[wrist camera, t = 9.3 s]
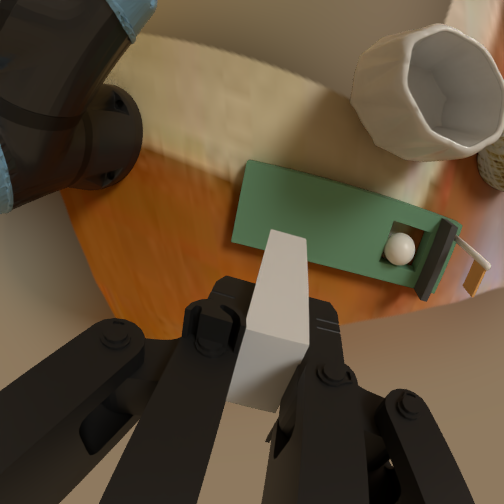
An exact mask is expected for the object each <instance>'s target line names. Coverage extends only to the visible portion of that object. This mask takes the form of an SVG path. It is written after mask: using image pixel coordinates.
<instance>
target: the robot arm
mask: <svg viewBox="0 0 504 504" xmlns="http://www.w3.org/2000/svg"><path fill="white" fill-rule="evenodd" d="M156 7H157V0H0V214H2V213H9V212H10V211H11V210H13V209H15V208H17V207H20V206H22V205H24V204H26V203H29V202H31V201H34V200H36V199H38V198H41V197H43V196H46V195H48V194H50V193H53V192H56V191H59V190H61V189H64V188H67V187H69V188H77V189H84V190H99V189H103V188H106V187H108V186H111V185H114V184H116V183H117V182H119V181H120V180H122V179H123V178H124V177H125V176H126V175H127V174H128V173H129V172H130V170H131V169H132V168H133V166H134V164H135V162H136V160H137V158H138V156H139V153H140V149H141V145H142V138H143V126H142V119H141V115H140V112H139V109H138V107H137V105H136V103H135V101H134V100H133V98H132V97H131V96H130V95H129V94H128V93H127V92H126V91H125V90H123V89H121V88H120V87H117V86H114V85H109V84H103V82H104V81H105V79H106V77H107V76H108V74H109V73H110V72H111V70H112V69H113V67H114V66H115V65H116V63H117V62H118V60H119V59H120V58H121V56H122V55H123V54H124V52H125V51H126V50H127V49H128V47H129V46H130V45H131V44H133V43H134V42H135V41H136V36H137V35H138V34H139V32H140V31H141V29H142V28H143V27H144V25H145V24H146V23H147V21H148V20H149V19H150V18H151V16H152V15H153V13H154V12H155V10H156ZM338 324H339V321H338V315H337V312H336V310H335V309H334V308H333V306H332V305H331V303H330V302H326V301H322V300H318V299H314V298H311V297H309V296H308V267H307V244H306V239H305V238H301V237H298V236H294V235H291V234H287V233H284V232H280V231H276V230H273V229H271V231H270V234H269V238H268V241H267V245H266V249H265V252H264V256H263V259H262V263H261V267H260V270H259V274H258V277H257V281H256V284H255V283H251V282H248V281H244V280H240V279H237V278H233V277H230V276H225V277H223V278H221V279H220V280H218V281H216V283H215V285H214V287H213V289H212V292H211V293H210V295H209V297H208V299H202V300H198V301H195V302H192V303H191V304H190V305H189V306H187V307H186V308H185V315H184V322H183V330H182V337H180V338H178V339H173V340H156V339H146V338H145V336H144V334H143V332H142V330H141V329H140V328H139V327H138V326H137V325H136V324H134V323H132V322H130V321H127V320H125V319H117V318H112V319H105V320H102V321H100V322H98V323H95V324H94V325H92V326H91V327H90V328H88V329H87V330H85V331H84V332H82V333H81V334H79V335H78V336H77V337H75V338H74V339H72V340H71V341H69V342H68V343H66V344H65V345H64V346H62V347H61V348H60V349H58V350H57V351H55V352H54V353H52V354H51V355H49V356H48V357H47V358H45V359H44V360H42V361H41V362H40V363H38V364H37V365H35V366H34V367H33V368H31V369H30V370H28V371H27V372H26V373H25V374H23V375H22V376H20V377H19V378H18V379H16V380H15V381H13V382H12V383H11V384H9V385H8V386H7V387H5V388H4V389H2V390H1V391H0V504H59V503H60V502H61V501H62V500H63V499H64V498H65V497H66V496H67V495H68V494H69V493H70V492H71V491H72V489H74V488H75V486H77V485H78V484H79V483H80V482H81V481H82V479H84V477H85V476H86V475H87V474H88V473H89V472H90V471H91V470H92V469H93V468H94V467H95V466H96V465H97V464H98V463H99V462H100V461H101V460H102V459H103V458H104V457H105V456H106V454H107V453H108V452H109V451H110V450H111V449H112V448H113V447H114V446H115V445H116V444H117V443H118V442H119V441H120V440H121V439H122V438H123V436H124V435H125V434H126V433H127V432H128V431H129V430H130V429H131V428H132V427H133V426H134V425H135V424H136V422H137V421H138V420H139V419H140V420H139V422H138V424H137V426H136V428H135V430H134V432H133V434H132V436H131V438H130V440H129V442H128V444H127V446H126V448H125V450H124V452H123V454H122V456H121V458H120V460H119V462H118V464H117V467H116V469H115V471H114V473H113V475H112V477H111V479H110V481H109V483H108V485H107V487H106V490H105V492H104V494H103V496H102V498H101V500H100V502H99V504H196V503H197V500H198V497H199V493H200V490H201V486H202V483H203V480H204V476H205V473H206V469H207V465H208V462H209V459H210V455H211V452H212V448H213V445H214V441H215V438H216V434H217V430H218V427H219V423H220V420H221V416H222V412H223V409H224V405H225V402H226V401H228V402H232V403H235V404H239V405H243V406H247V407H251V408H255V409H260V410H264V411H268V412H273V413H276V411H277V409H278V407H279V405H280V411H279V417H278V419H277V421H276V423H275V424H274V426H273V428H272V429H271V431H270V433H269V435H268V436H267V439H266V441H265V442H268V443H269V442H270V440H271V445H270V452H269V459H268V466H267V472H266V479H265V485H264V491H263V497H262V503H261V504H475V503H474V501H473V498H472V496H471V494H470V491H469V489H468V487H467V485H466V483H465V480H464V478H463V476H462V474H461V472H460V469H459V467H458V465H457V463H456V461H455V459H454V457H453V455H452V453H451V451H450V449H449V447H448V445H447V443H446V441H445V439H444V437H443V435H442V433H441V431H440V429H439V427H438V425H437V423H436V421H435V420H434V417H433V416H432V414H431V412H430V410H429V408H428V407H427V405H426V403H425V402H424V401H423V399H422V398H421V397H419V396H418V395H417V394H415V393H414V392H411V391H409V390H407V389H396V390H392V391H391V392H390V393H389V394H388V395H387V396H386V397H385V398H383V397H381V396H378V395H376V394H374V393H371V392H369V391H367V390H365V389H363V388H361V387H360V386H358V382H357V379H356V376H355V374H354V372H353V371H352V370H351V369H350V367H349V366H347V365H346V364H344V357H343V350H342V342H341V335H340V334H339V333H340V329H339V325H338ZM389 459H391V461H392V464H393V466H394V467H393V466H391V464H390V462H389Z"/></svg>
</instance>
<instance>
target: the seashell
mask: <svg viewBox="0 0 504 504" xmlns="http://www.w3.org/2000/svg"><path fill="white" fill-rule="evenodd" d="M478 169H479V173H480V175H481V177H482V178H483V180H484V181H485V182H486V183H487V184H489V185H490V186H492V187H493V188H495V189H497V190H500V191H503V192H504V130H503V132H502V135H501V136H500V138H499V139H498V140H497V141H496V142H495V143H493V144H491V145H488V146H486V147H485V148H484V149H482V150H481V151H479V152H478Z"/></svg>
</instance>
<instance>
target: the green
mask: <svg viewBox="0 0 504 504" xmlns="http://www.w3.org/2000/svg"><path fill="white" fill-rule="evenodd" d="M393 221H397V222H400V223H403V224H406V225H409V226H412V227H415V228H418V229H421V230H424V234H423V237H422V239H421V242H420V245H419V247H418V250H417V252H416V255H415V257H414V260H413V262H412V265H407V264H405V265H394V264H392V263H391V262H390V261H389V260H388V259H386V258H383V257H381V255H382V252H383V250H384V247H385V244H386V241H387V239H388V236H389V233H390V230H391V227H392V224H393ZM271 229H273V230H276V231H280V232H284V233H287V234H291V235H294V236H298V237H301V238H305V239H306V244H307V261H309V262H313V263H317V264H321V265H325V266H329V267H333V268H337V269H340V270H344V271H348V272H352V273H356V274H360V275H364V276H368V277H372V278H376V279H379V280H383V281H387V282H391V283H395V284H399V285H403V286H406V287H410V288H414V290H415V292H416V293H417V295H418V297H419V298H420V300H422V301H426V302H427V300H428V298H429V296H430V294H431V293H433V294H434V293H435V291H436V289H437V286H438V284H439V282H440V280H441V278H442V276H443V273H444V271H445V269H446V267H447V264H448V262H449V259H450V257H451V255H452V252H453V250H454V247H455V245H456V243H457V244H458V245H459V246H461V247H462V248H463V249H464V250H465V251H466V252H467V253H468V254H469V255H470V256H471V257H473V258H474V262H473V264H472V266H471V269H470V271H469V273H468V275H467V278H466V280H465V282H464V284H463V287H464V288H465V289H466V291H467V292H468V293H469V294H470V296H471V297H474V295H475V293H476V291H477V289H478V287H479V285H480V283H481V281H482V279H483V277H484V274H485V272H486V271H488V270H489V269H490V268H491V264H490V263H489V262H488V261H487V260H486V259H484V258H483V257H482V256H481V255H480V254H479V253H478V252H477V251H475V250H474V249H473V248H472V247H471V246H470V245H468V244H467V243H466V242H465V241H464V240H462V239H461V238H460V237H459V234H460V232H461V229H462V225H461V224H460V223H458V222H457V221H455V220H452V219H450V218H447V217H444V216H442V215H439V214H436V213H434V212H431V211H428V210H425V209H423V208H420V207H417V206H414V205H411V204H408V203H405V202H402V201H399V200H396V199H393V198H390V197H387V196H384V195H381V194H378V193H375V192H372V191H368V190H365V189H362V188H358V187H355V186H352V185H348V184H345V183H341V182H338V181H334V180H331V179H327V178H323V177H320V176H316V175H312V174H308V173H304V172H300V171H297V170H292V169H288V168H284V167H280V166H276V165H272V164H267V163H263V162H258V161H254V160H248V161H247V163H246V168H245V173H244V178H243V183H242V188H241V193H240V198H239V203H238V209H237V214H236V219H235V224H234V229H233V235H232V240H231V242H234V243H238V244H242V245H246V246H250V247H254V248H258V249H262V250H265V249H266V245H267V241H268V238H269V234H270V231H271Z"/></svg>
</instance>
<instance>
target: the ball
mask: <svg viewBox="0 0 504 504" xmlns="http://www.w3.org/2000/svg"><path fill="white" fill-rule="evenodd" d="M384 252H385V255H386V258H387V259H388V260H389V261H390V262H391V263H392V264H394V265H405V264H407V263H409V262H410V261H411V260H412V258H413V257H414V254H415V244H414V242H413V240H412V239H411V237H410V236H408V235H407V234H404V233H395V234H393V235H391V236H390V237H389V238H388V239H387V241H386V244H385V247H384Z"/></svg>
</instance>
